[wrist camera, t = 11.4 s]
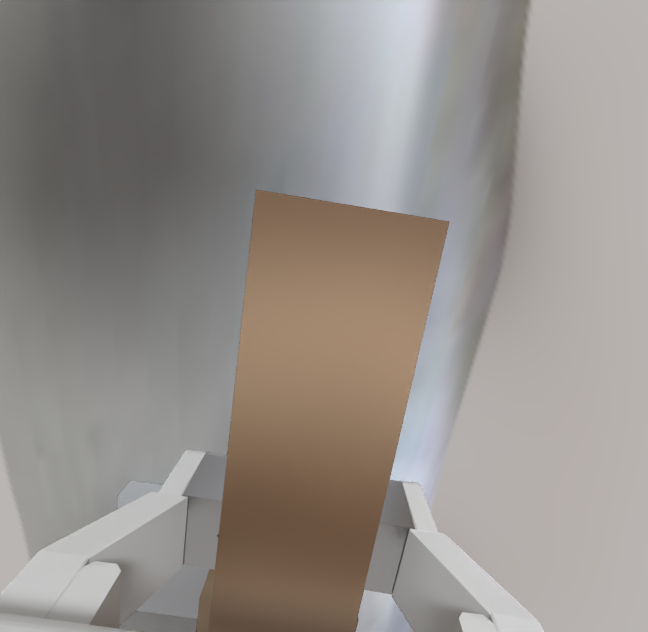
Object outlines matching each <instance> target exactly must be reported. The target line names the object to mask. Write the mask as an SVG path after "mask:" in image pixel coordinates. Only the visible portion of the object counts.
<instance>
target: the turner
mask: <svg viewBox="0 0 648 632" xmlns="http://www.w3.org/2000/svg"><path fill="white" fill-rule="evenodd" d="M448 226H449V221H443V220H437V219H431V218H425V217H419V216H413V215H407V214H401V213H394V212H388V211H382V210H376V209H370V208H364V207H358V206H352V205H346V204H340V203H334V202H328V201H322V200H316V199H310V198H304V197H298V196H292V195H286V194H279V193H273V192H267V191H261V190H256V194H255V203H254V212H253V222H252V231H251V240H250V249H249V259H248V268H247V277H246V286H245V295H244V305H243V314H242V323H241V332H240V342H239V351H238V360H237V369H236V379H235V388H234V397H233V406H232V415H231V425H230V434H229V443H228V452H227V462H226V471H225V480H224V489H223V499H222V508H221V517H220V526H219V535H218V545H217V554H216V563H215V570H214V569H209V572H208V575H207V578H206V581H205V584H204V587H203V589H202V592H201V595H200V598H199V607H198V617H197V627H196V632H355V631H356V627H357V623H358V613H359V609H360V604H361V600H362V596H363V591H364V587H365V583H366V578H367V574H368V570H369V566H370V561H371V557H372V553H373V548H374V544H375V540H376V535H377V531H378V527H379V523H380V518H381V514H382V510H383V505H384V501H385V497H386V492H387V488H388V484H389V479H390V475H391V471H392V467H393V462H394V458H395V454H396V449H397V445H398V441H399V436H400V432H401V428H402V424H403V419H404V415H405V411H406V406H407V402H408V398H409V393H410V389H411V385H412V381H413V376H414V372H415V368H416V363H417V359H418V355H419V350H420V346H421V342H422V337H423V333H424V329H425V325H426V320H427V316H428V312H429V307H430V303H431V299H432V294H433V290H434V286H435V282H436V277H437V273H438V269H439V264H440V260H441V256H442V251H443V247H444V243H445V239H446V234H447V230H448Z"/></svg>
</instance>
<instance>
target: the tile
mask: <svg viewBox="0 0 648 632" xmlns="http://www.w3.org/2000/svg"><path fill="white" fill-rule="evenodd" d="M161 487H162V485H159V484H152V483H145V482H138V481H131V480H130V482H129V483H128V484H127V485H126V487H125V488H124V489H123V490H122V492H121V493H120V494H119V496H118V497H117V509H119V508H121V507H123V506H125V505H127V504H129V503H131V502H133V501H135V500H137V499H138V498H140V497H142V496H144V495H146V494H148V493H150V492H158V491H159V490H160V488H161ZM209 569H214V568H205V567H196V566H186V565H183V566H182V568H181V569H180V570H179V571H178V572H177V573H176V574H175V575H174V576H173V577H172V578H171V579H169V580H168V581H167V582H166V583H165V584H164V585H163V586H162V587H161V588H160V589H159V590H158V591H156V592H155V593H154V594H153V595H152V596H151V597H150V598H149V599H148V600H147V601H146V602H145V603H143V604H142V605H141V606H140V607H139V608H138V609H137V610H136V611H140V612H148V613H155V614H162V615H170V616H177V617H185V618H192V619H197V617H198V607H199V598H200V595H201V592H202V589H203V587H204V584H205V581H206V578H207V575H208V572H209ZM214 570H215V569H214Z"/></svg>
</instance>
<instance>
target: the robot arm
mask: <svg viewBox="0 0 648 632" xmlns="http://www.w3.org/2000/svg"><path fill="white" fill-rule="evenodd" d="M226 462H227V455H222V454H217V453H211V452H204V451H198V450H191V449H188V450H186V451H185V452H184V453H183V455H182V456H181V458H180V459H179V461H178V462H177V464H176V465H175V467H174V468H173V470H172V471H171V473H170V474H169V476H168V477H167V479H166V480H165V482H164V483H163V485H162V487H161V488H160V490H159V491H158V492H150V493H148V494H146V495H144V496H142V497H140V498H138V499H137V500H135V501H133V502H131V503H129V504H127V505H125V506H123V507H121V508H119V509H117V510H116V511H114V512H112V513H110V514H108V515H106V516H104V517H102V518H100V519H98V520H96V521H95V522H93V523H91V524H89V525H87V526H85V527H83V528H81V529H79V530H77V531H76V532H74V533H72V534H70V535H68V536H66V537H64V538H62V539H60V540H58V541H56V542H55V543H53V544H51V545H49V546H47V547H45V548H43V549H41V550H39V551H38V552H37V553H36V555H35V556H34V557H33V558H32V559H31V560H30V561H29V562H28V563H27V564H26V566H25V567H24V568H23V569H22V570H21V571H20V572H19V573H18V574H17V576H16V577H15V578H14V579H13V580H12V581H11V582H10V583H9V584H8V585H7V586H6V587H5V589H4V590H3V591H2V592H1V593H0V632H141V631H134V630H126V629H119V626H120V625H121V624H122V623H123V622H124V621H125V620H126V619H127V618H128V617H129V616H130V615H132V614H133V613H134V612H135V611H136V610H137V609H138V608H139V607H140V606H141V605H142V604H143V603H145V602H146V601H147V600H148V599H149V598H150V597H151V596H152V595H153V594H154V593H155V592H156V591H158V590H159V589H160V588H161V587H162V586H163V585H164V584H165V583H166V582H167V581H168V580H169V579H171V578H172V577H173V576H174V575H175V574H176V573H177V572H178V571H179V570H180V569H181V568H182V566H183V565H186V566H196V567H205V568H214V569H215V563H216V554H217V545H218V535H219V526H220V517H221V508H222V499H223V489H224V480H225V471H226ZM364 590H369V591H375V592H381V593H387V594H392V597H393V599H394V600H395V602H396V604H397V605H398V607H399V608H400V610H401V612H402V613H403V615H404V616H405V618H406V619H407V621H408V623H409V624H410V626H411V627H412V629H413V631H414V632H544V631H543V629H542V627H541V625H540V623H539V621H538V620H537V619H536V618H535V617H533V616H532V615H531V614H530V613H529V612H528V611H527V610H526V609H525V608H524V607H523V606H522V605H521V604H520V603H518V602H517V601H516V600H515V599H514V598H513V597H512V596H511V595H510V594H509V593H508V592H507V591H506V590H504V589H503V588H502V587H501V586H500V585H499V584H498V583H497V582H496V581H495V580H494V579H493V578H491V577H490V576H489V575H488V574H487V573H486V572H485V571H484V570H483V569H482V568H481V567H479V565H478V564H476V563H475V562H474V561H473V560H472V559H471V558H470V557H469V556H468V555H467V554H466V553H465V552H464V551H463V550H461V549H460V548H459V547H458V546H457V545H456V544H455V543H454V542H453V541H452V540H451V539H450V538H449V537H447V536H446V535H445V534H442V533H439V532H438V529H437V527H436V524H435V521H434V519H433V516H432V513H431V510H430V508H429V505H428V502H427V500H426V497H425V494H424V492H423V489H422V486H421V485H420V484H419V483H416V482H407V481H394V480H389V484H388V488H387V492H386V497H385V501H384V505H383V510H382V514H381V518H380V523H379V527H378V531H377V535H376V540H375V544H374V548H373V553H372V557H371V561H370V566H369V570H368V574H367V578H366V583H365V587H364Z"/></svg>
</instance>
